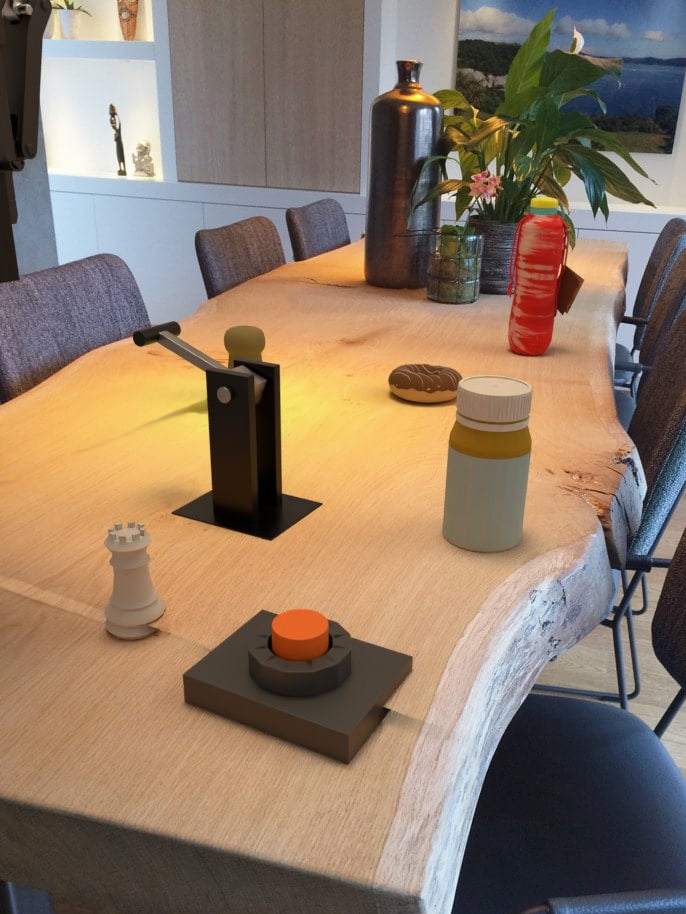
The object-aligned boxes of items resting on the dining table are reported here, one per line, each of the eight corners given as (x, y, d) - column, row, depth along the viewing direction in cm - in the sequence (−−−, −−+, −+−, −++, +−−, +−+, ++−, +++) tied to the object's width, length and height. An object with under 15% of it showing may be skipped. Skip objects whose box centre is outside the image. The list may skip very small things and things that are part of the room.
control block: (184, 702, 53) (180, 650, 52) (262, 634, 61) (261, 587, 59) (348, 765, 48) (349, 710, 47) (411, 683, 56) (414, 633, 54)
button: (260, 652, 52) (260, 629, 52) (291, 625, 55) (291, 603, 55) (309, 669, 51) (310, 645, 50) (338, 640, 54) (338, 617, 53)
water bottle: (565, 347, 146) (585, 196, 136) (577, 358, 139) (598, 200, 128) (498, 345, 146) (512, 194, 135) (505, 356, 138) (521, 198, 128)
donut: (394, 407, 111) (395, 378, 109) (381, 385, 121) (382, 358, 119) (471, 406, 113) (473, 377, 111) (452, 384, 122) (454, 357, 121)
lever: (129, 347, 74) (134, 323, 73) (166, 336, 78) (172, 313, 77) (236, 413, 71) (243, 389, 70) (268, 399, 75) (276, 376, 74)
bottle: (457, 523, 79) (469, 369, 73) (529, 539, 76) (547, 381, 70) (429, 553, 73) (440, 389, 67) (505, 572, 70) (523, 402, 64)
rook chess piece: (152, 646, 59) (143, 546, 56) (94, 638, 60) (81, 539, 56) (177, 613, 63) (169, 518, 60) (122, 606, 64) (111, 512, 60)
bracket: (171, 525, 77) (159, 369, 71) (229, 491, 84) (222, 347, 78) (271, 553, 72) (267, 389, 66) (323, 515, 80) (323, 364, 74)
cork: (213, 412, 107) (209, 327, 103) (245, 401, 112) (243, 319, 107) (248, 421, 104) (245, 334, 100) (280, 410, 109) (278, 326, 104)
